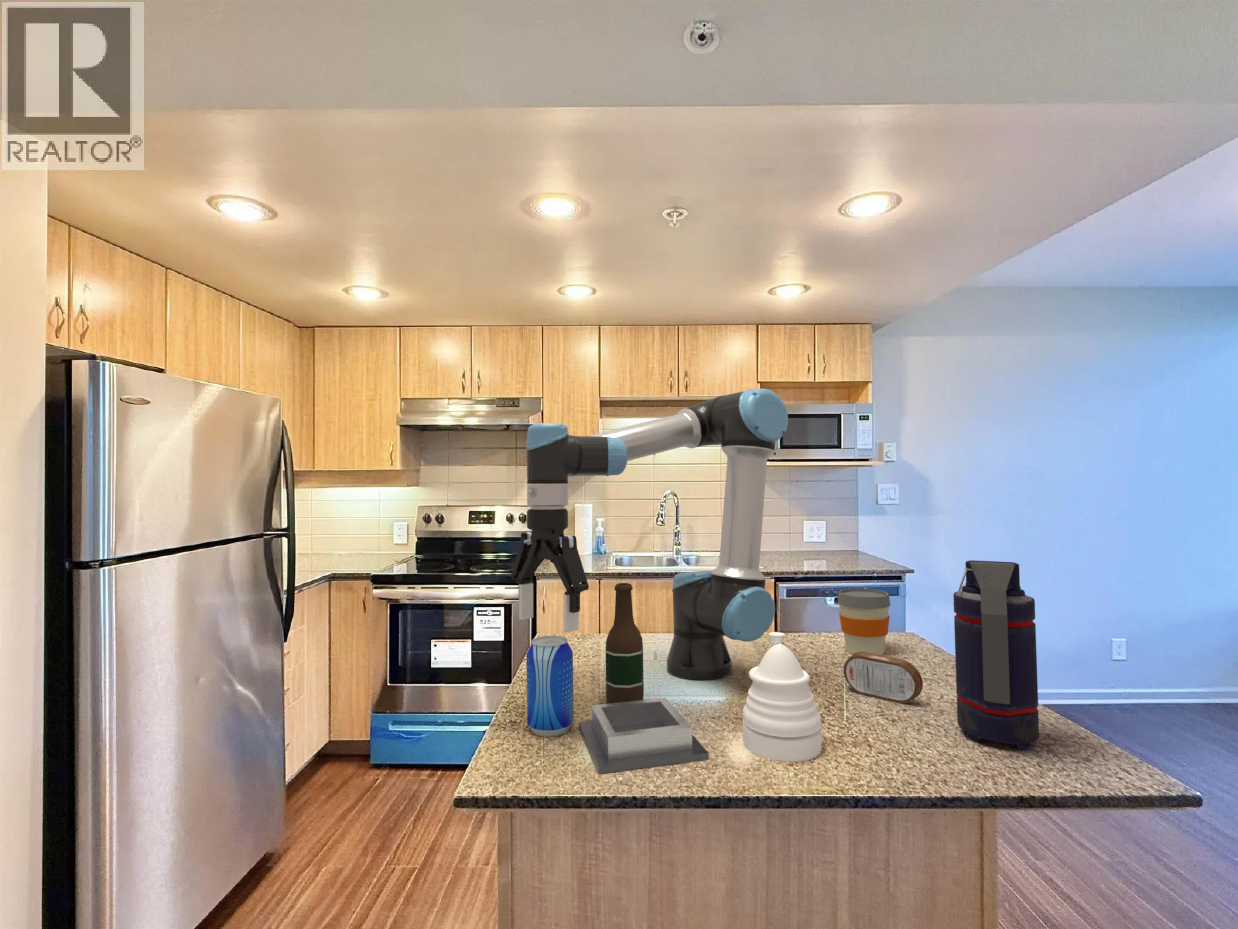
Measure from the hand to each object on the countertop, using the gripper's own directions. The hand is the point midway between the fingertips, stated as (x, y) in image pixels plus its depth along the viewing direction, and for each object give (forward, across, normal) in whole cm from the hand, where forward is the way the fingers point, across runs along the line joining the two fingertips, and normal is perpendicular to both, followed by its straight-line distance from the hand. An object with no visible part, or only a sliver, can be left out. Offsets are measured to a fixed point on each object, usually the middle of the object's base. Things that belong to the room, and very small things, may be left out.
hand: (547, 624), depth 110 cm
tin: (+18, +36, +57) cm, 70 cm away
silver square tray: (+19, +16, +8) cm, 26 cm away
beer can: (+19, 0, 0) cm, 19 cm away
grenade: (+18, +58, +51) cm, 80 cm away
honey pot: (+19, +33, +24) cm, 45 cm away
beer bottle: (+19, +1, +18) cm, 26 cm away
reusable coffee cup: (+18, +20, +86) cm, 90 cm away
